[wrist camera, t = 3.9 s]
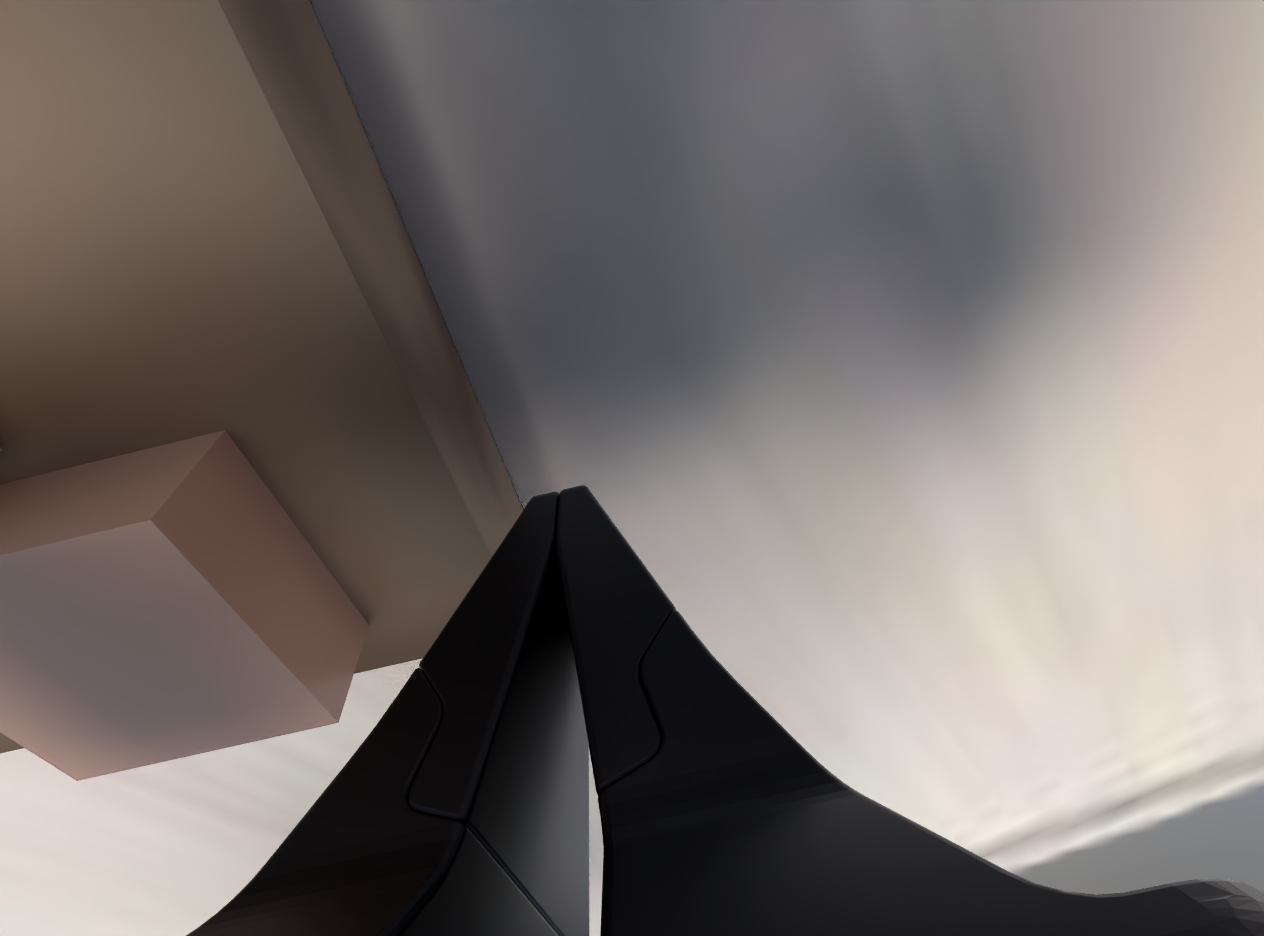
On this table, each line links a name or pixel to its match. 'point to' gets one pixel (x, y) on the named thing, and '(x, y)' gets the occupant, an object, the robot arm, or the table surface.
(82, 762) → the terracotta tile
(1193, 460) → the table surface
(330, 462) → the walnut board
